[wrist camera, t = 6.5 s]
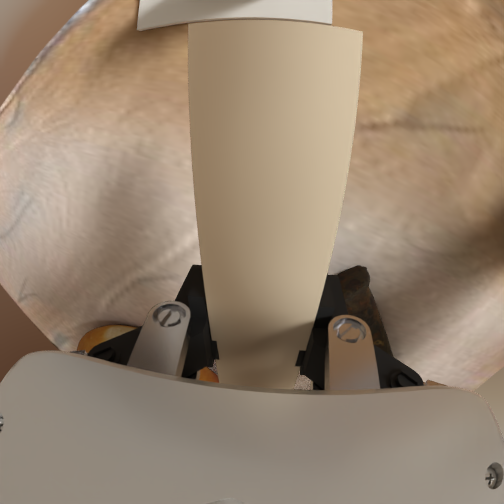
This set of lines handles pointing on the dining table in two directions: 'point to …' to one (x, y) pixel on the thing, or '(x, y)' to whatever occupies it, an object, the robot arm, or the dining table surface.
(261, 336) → the beige long bar
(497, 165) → the dining table surface
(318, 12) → the mat
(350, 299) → the rusty brown spike
